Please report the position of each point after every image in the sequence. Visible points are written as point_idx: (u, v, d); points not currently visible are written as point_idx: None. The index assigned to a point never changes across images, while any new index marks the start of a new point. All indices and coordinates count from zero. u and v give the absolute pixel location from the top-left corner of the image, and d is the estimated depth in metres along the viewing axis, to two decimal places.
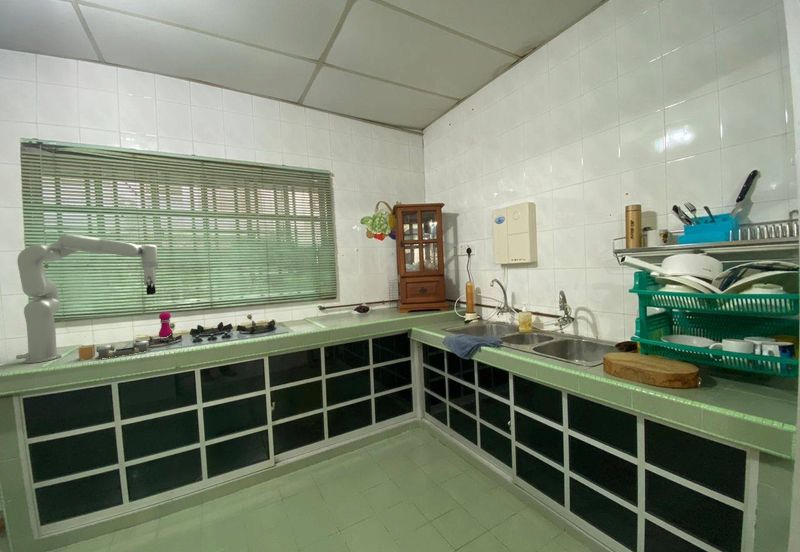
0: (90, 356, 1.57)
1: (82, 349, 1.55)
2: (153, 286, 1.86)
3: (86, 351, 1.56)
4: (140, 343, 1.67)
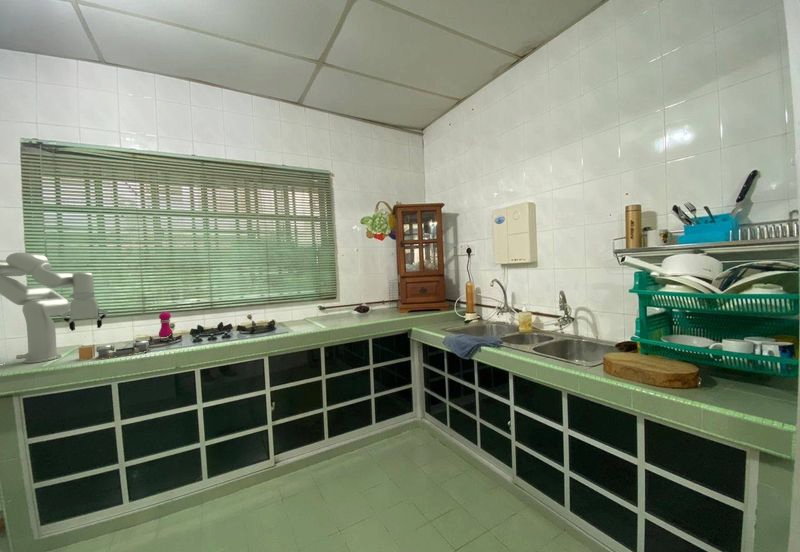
0: (90, 356, 1.57)
1: (82, 349, 1.55)
2: (73, 321, 1.56)
3: (86, 351, 1.56)
4: (140, 343, 1.67)
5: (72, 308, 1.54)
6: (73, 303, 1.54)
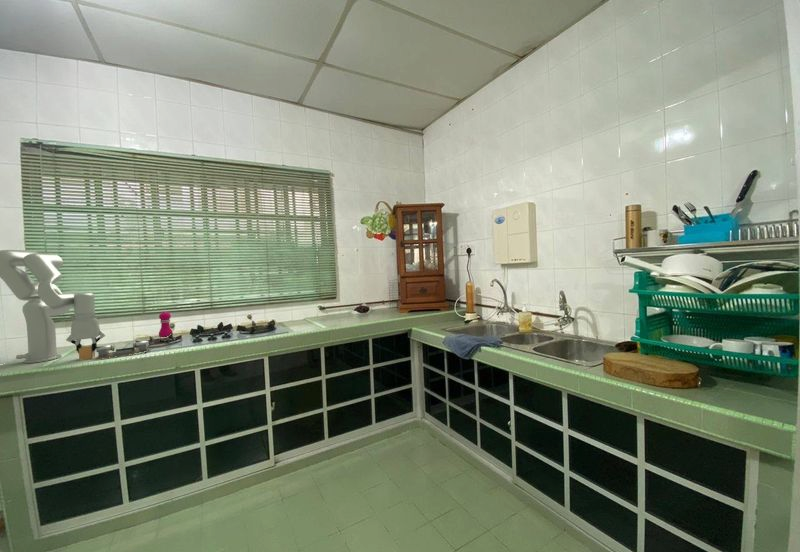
0: (90, 356, 1.57)
1: (82, 349, 1.55)
2: None
3: (86, 351, 1.56)
4: (140, 343, 1.67)
5: (73, 329, 1.54)
6: (74, 324, 1.54)
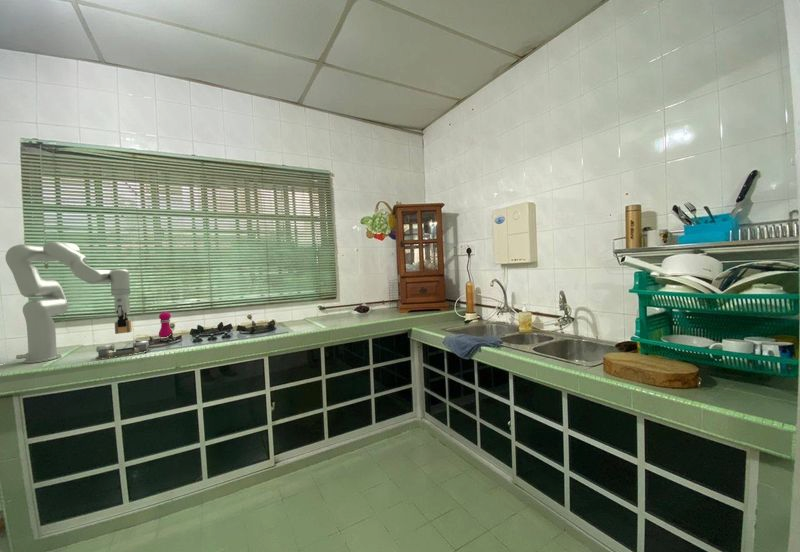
0: (131, 328, 1.67)
1: (129, 321, 1.64)
2: None
3: (130, 324, 1.66)
4: (140, 343, 1.67)
5: (126, 303, 1.61)
6: (126, 298, 1.62)
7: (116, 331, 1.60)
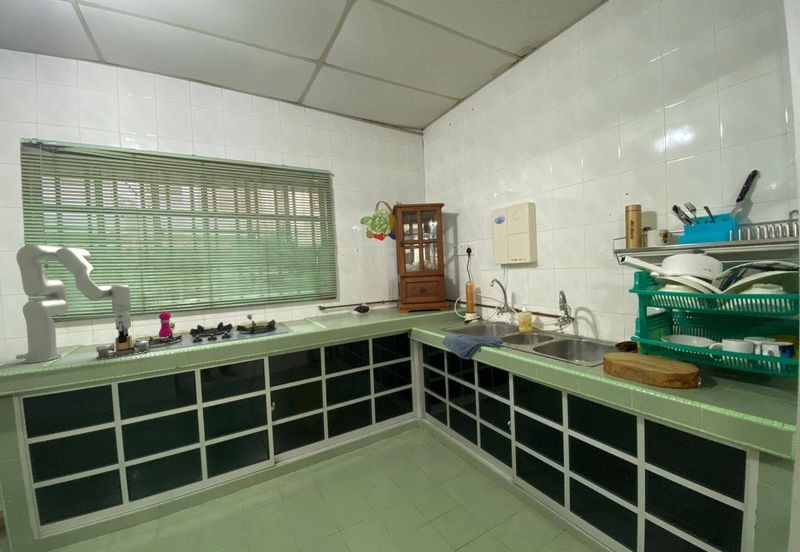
0: None
1: (130, 337, 1.65)
2: None
3: (131, 339, 1.66)
4: (140, 343, 1.67)
5: (127, 319, 1.62)
6: (127, 314, 1.62)
7: (117, 347, 1.60)
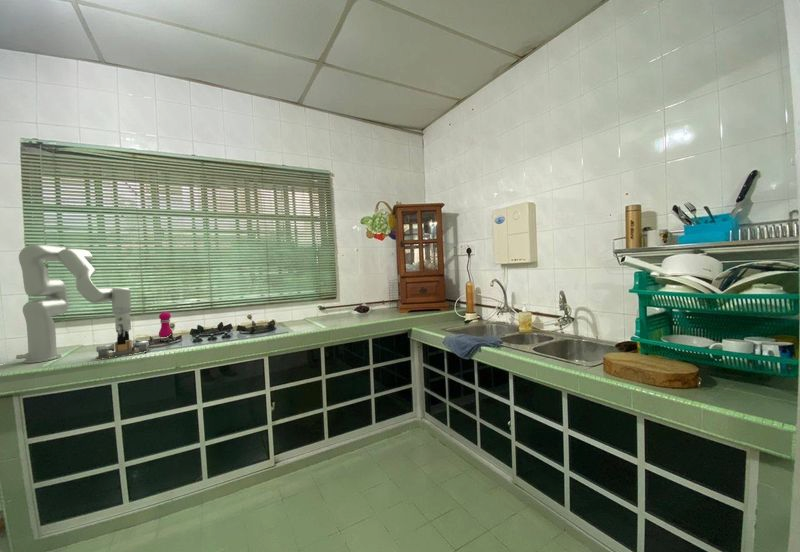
0: (131, 348, 1.67)
1: (130, 341, 1.65)
2: None
3: (130, 343, 1.66)
4: (140, 343, 1.67)
5: (127, 321, 1.62)
6: (127, 316, 1.62)
7: (116, 351, 1.60)
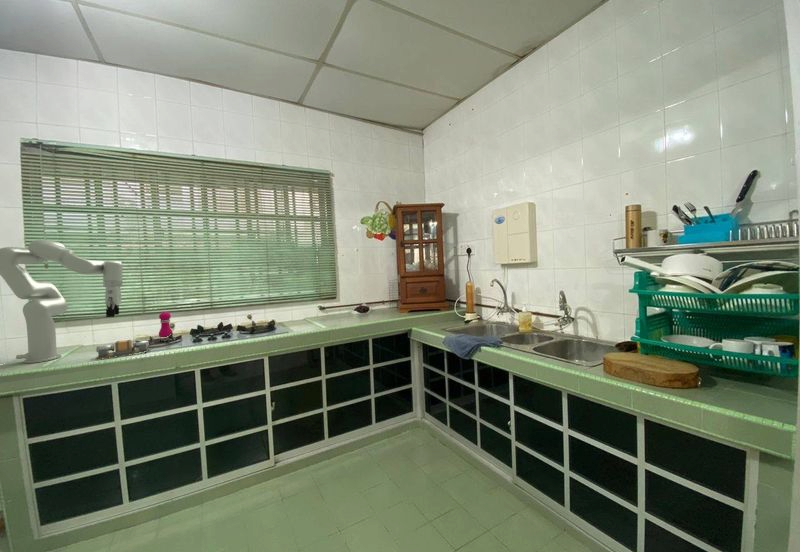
0: (131, 348, 1.67)
1: (130, 341, 1.65)
2: None
3: (130, 343, 1.66)
4: (140, 343, 1.67)
5: (117, 295, 1.62)
6: (117, 290, 1.62)
7: (116, 351, 1.60)
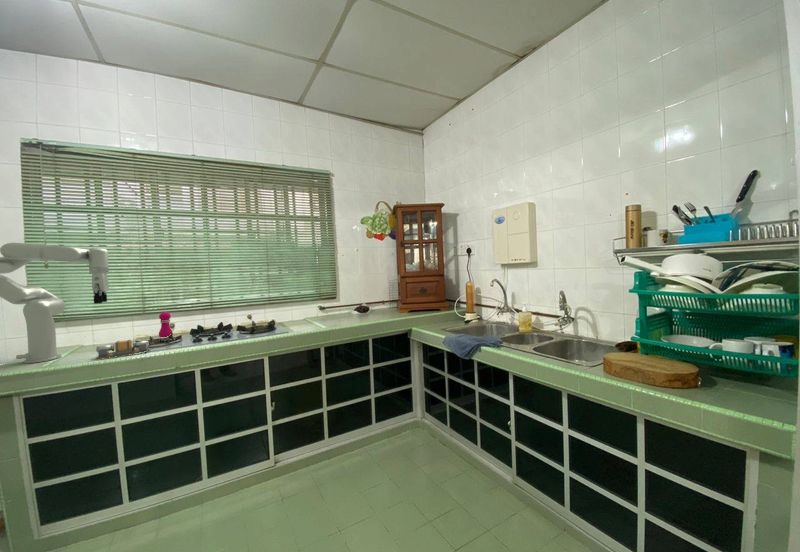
0: (131, 348, 1.67)
1: (130, 341, 1.65)
2: None
3: (130, 343, 1.66)
4: (140, 343, 1.67)
5: (104, 281, 1.64)
6: (104, 277, 1.64)
7: (116, 351, 1.60)
